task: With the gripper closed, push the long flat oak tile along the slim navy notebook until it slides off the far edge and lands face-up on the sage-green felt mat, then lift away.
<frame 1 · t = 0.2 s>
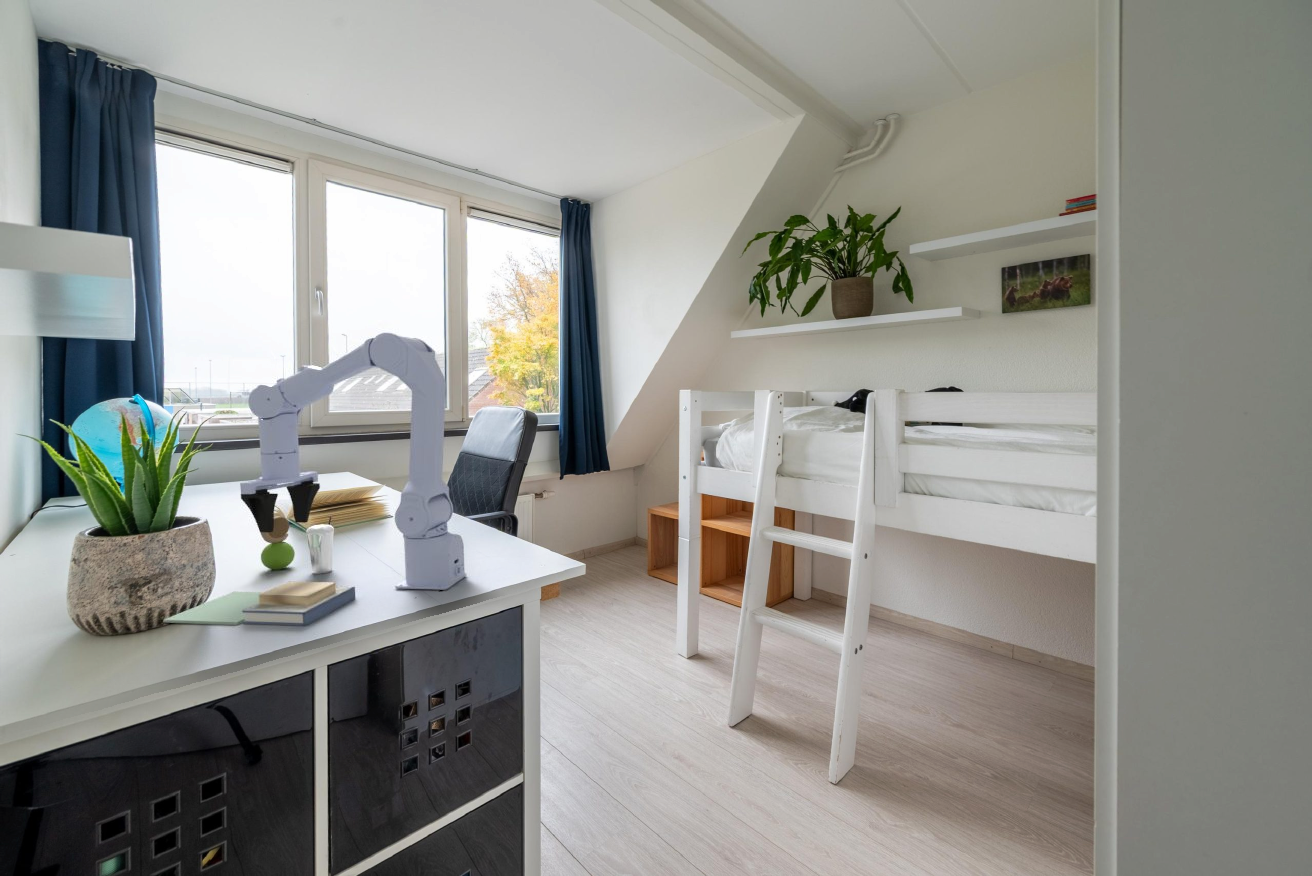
hand: (284, 526, 99), 10 cm above the table, fingers open, 7 cm apart
snail figurine: (276, 570, 106), on the table
tile: (298, 597, 85), point 2 cm above the table, touching notebook
notebook: (302, 610, 85), on the table
milkshake: (324, 571, 105), on the table
mat: (235, 608, 86), on the table
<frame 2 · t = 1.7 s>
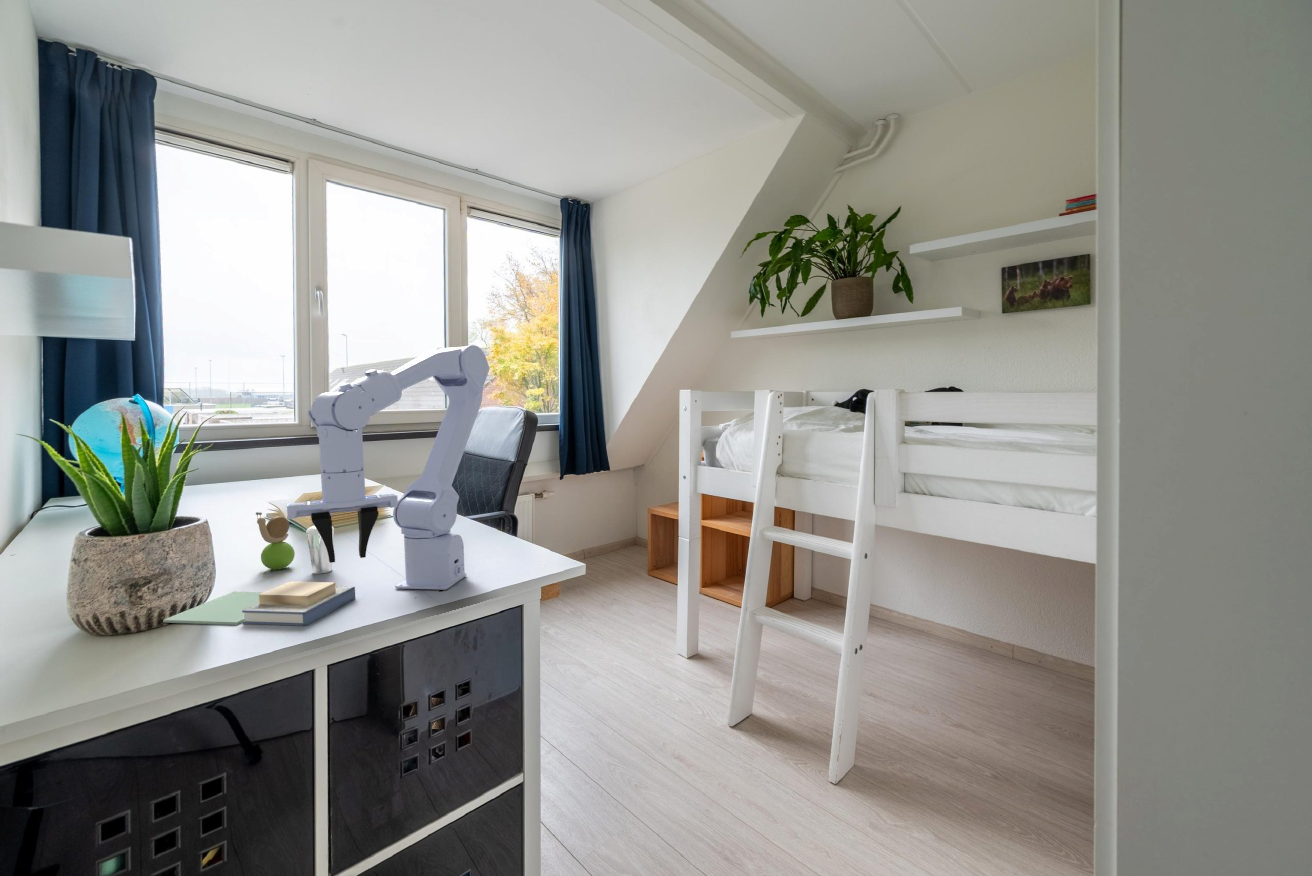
hand: (347, 558, 83), 8 cm above the table, fingers open, 3 cm apart
nothing on the table moved.
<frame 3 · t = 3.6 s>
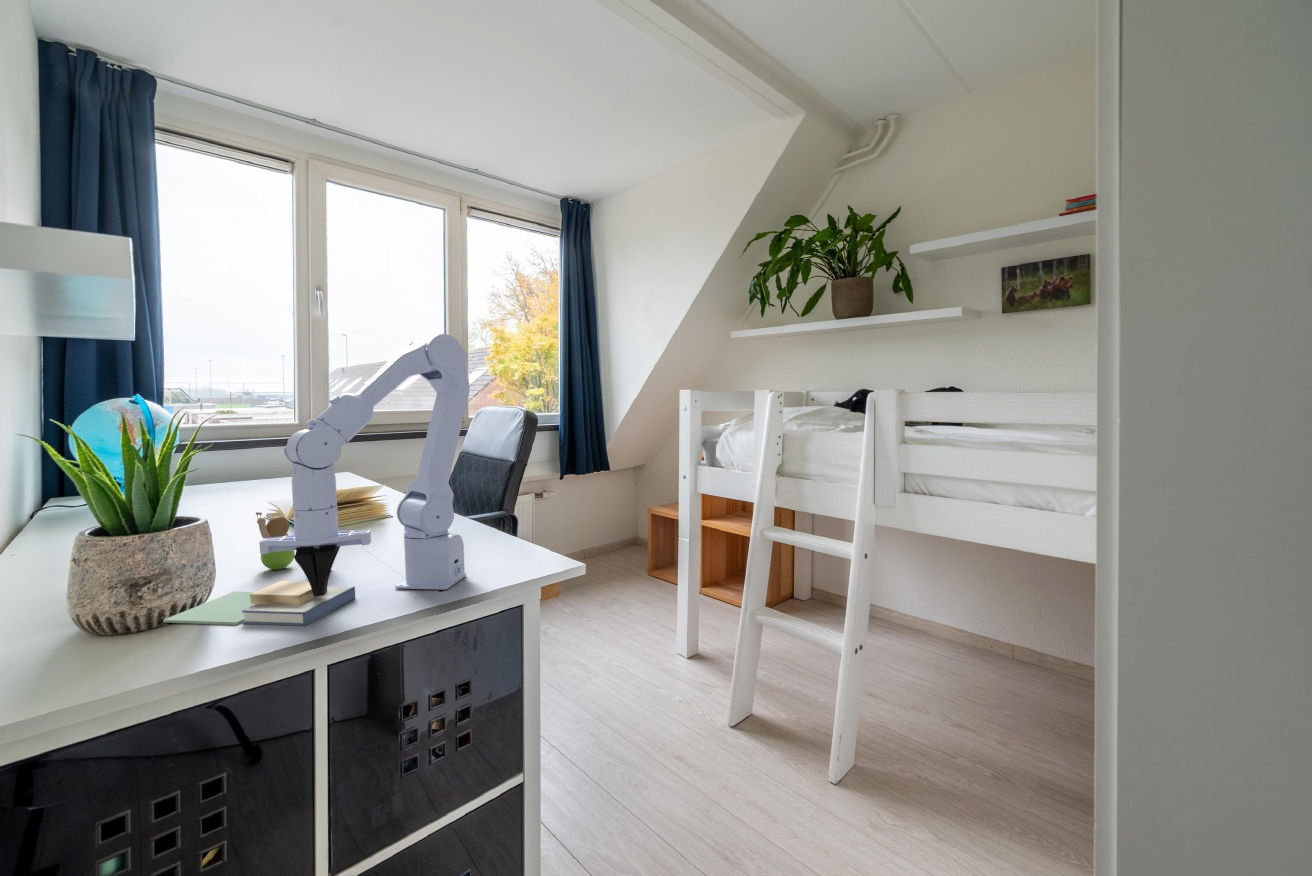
hand: (320, 593, 84), 3 cm above the table, fingers closed
tile: (290, 597, 85), point 2 cm above the table, touching notebook
everything else where it was.
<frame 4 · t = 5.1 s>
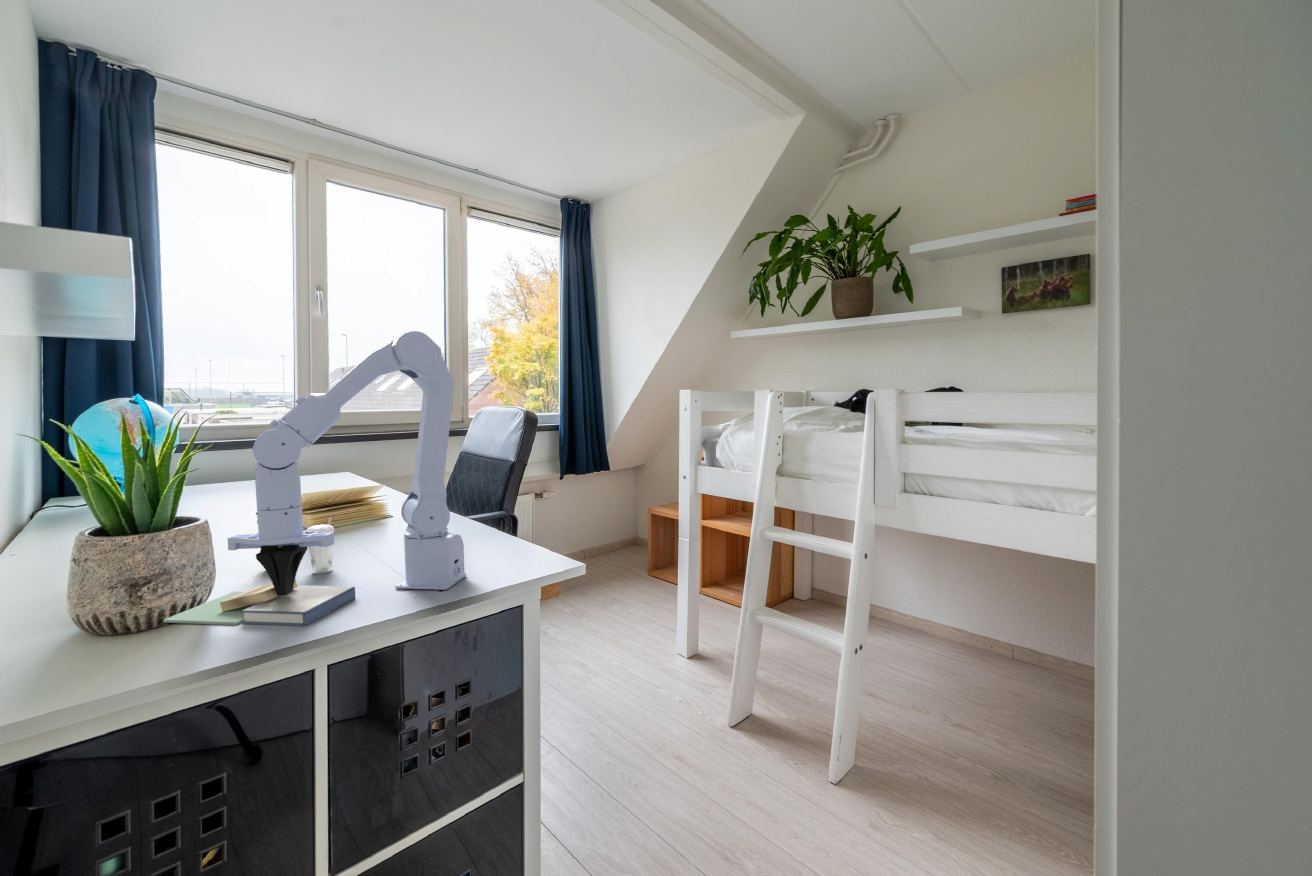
hand: (284, 592, 85), 3 cm above the table, fingers closed
tile: (261, 599, 86), point 1 cm above the table, tilted 14°, touching gripper
everything else where it was.
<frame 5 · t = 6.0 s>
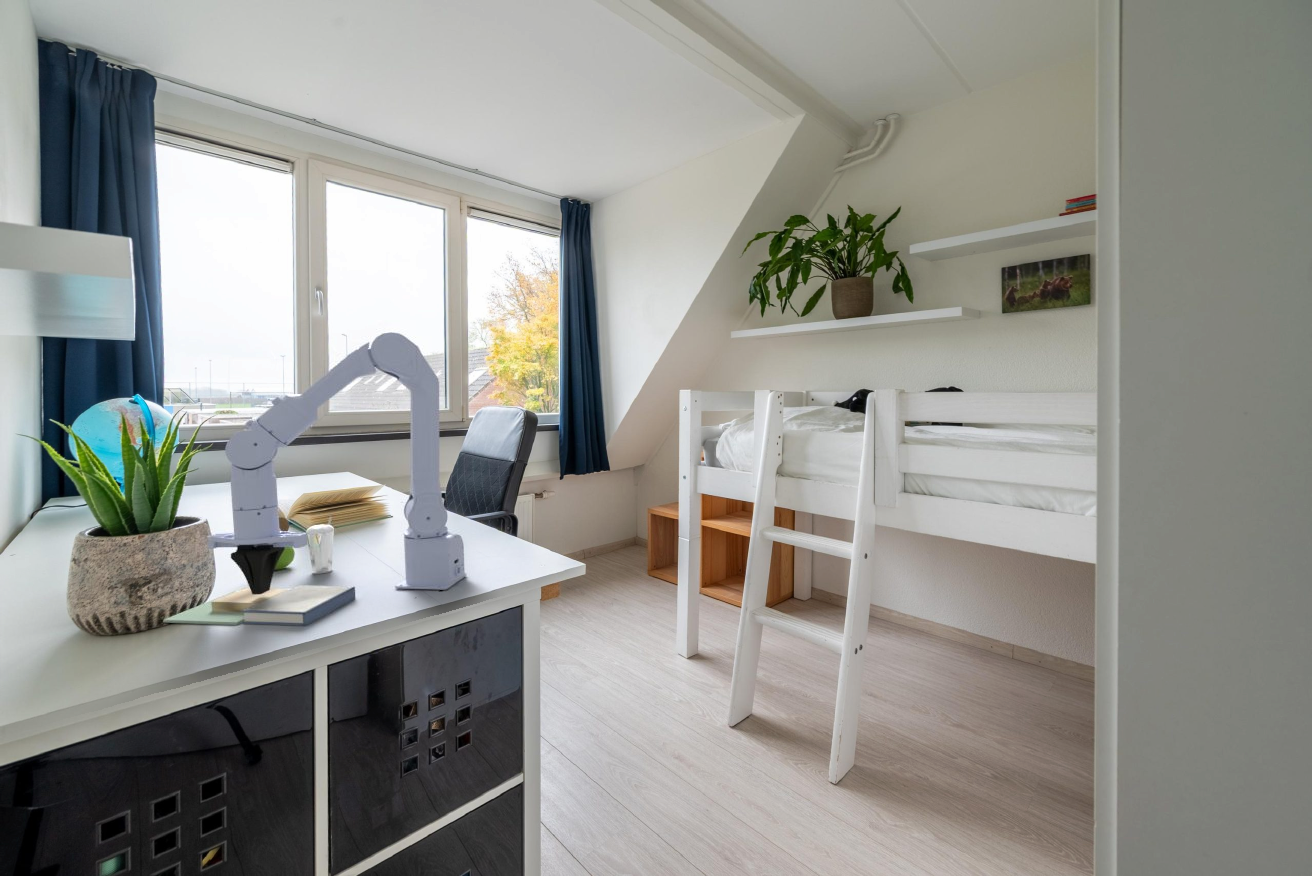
hand: (261, 592, 85), 3 cm above the table, fingers closed
tile: (251, 604, 86), resting on mat
everything else where it was.
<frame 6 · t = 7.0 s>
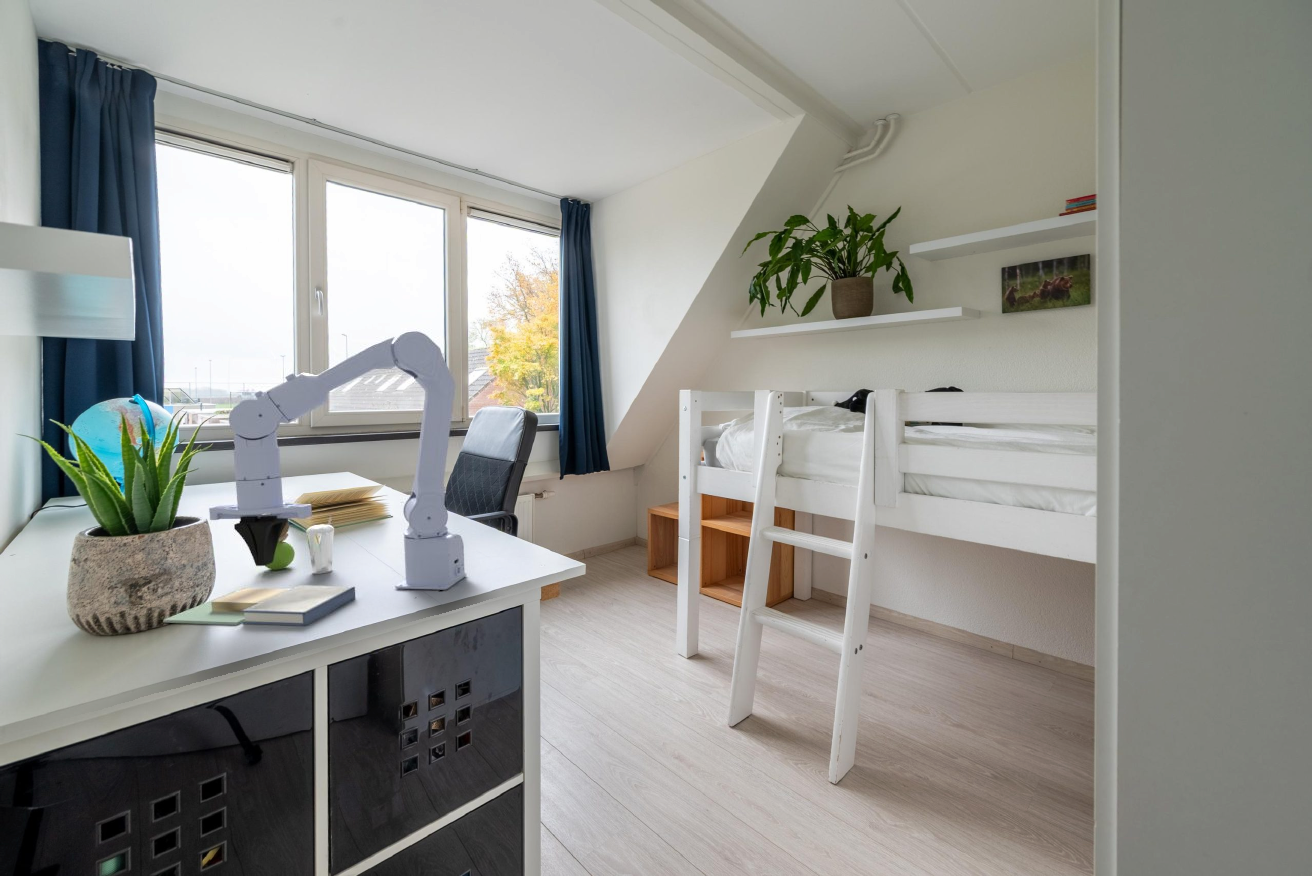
hand: (264, 564, 85), 7 cm above the table, fingers closed
nothing on the table moved.
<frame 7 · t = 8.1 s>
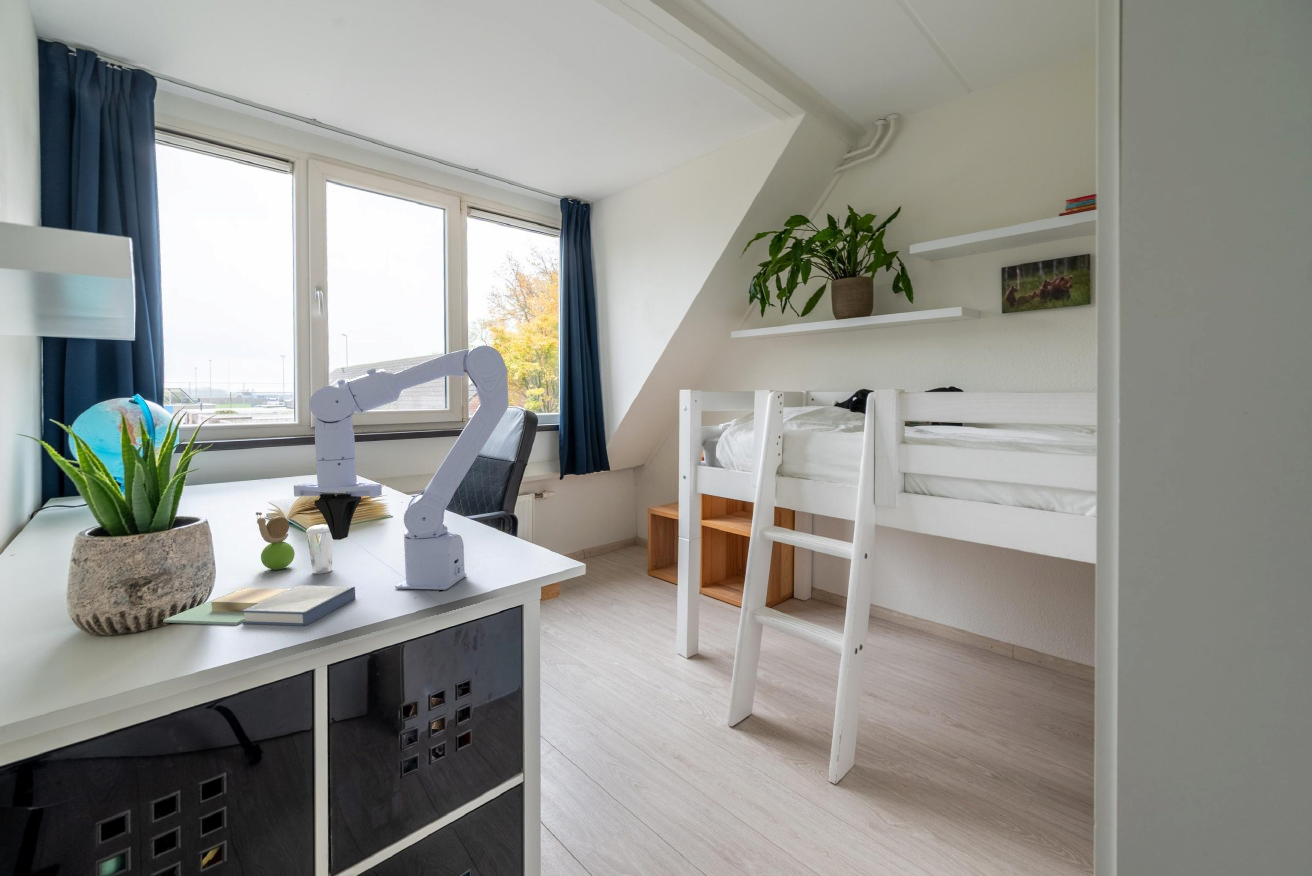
hand: (340, 538, 92), 9 cm above the table, fingers closed
nothing on the table moved.
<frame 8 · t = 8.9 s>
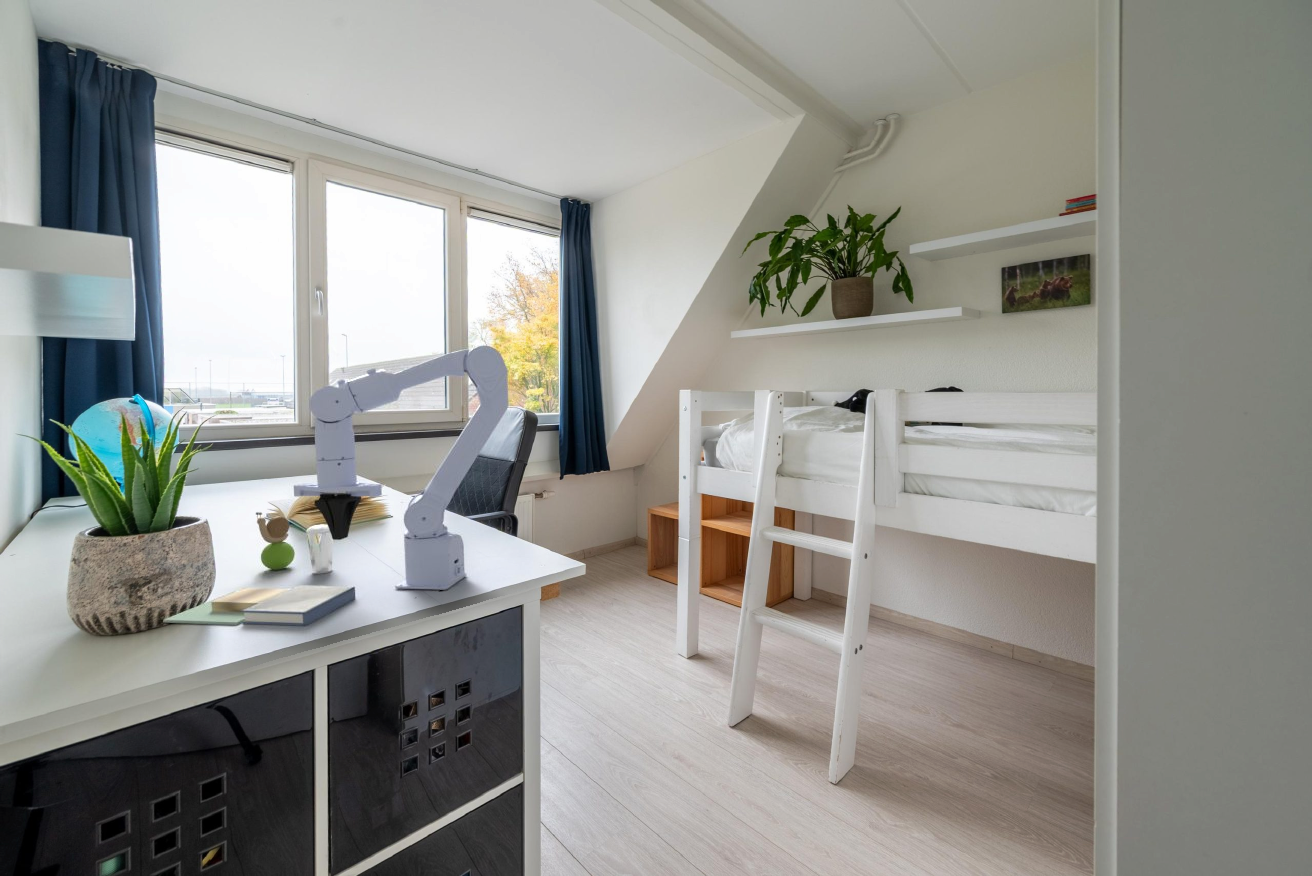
hand: (340, 538, 92), 9 cm above the table, fingers closed
nothing on the table moved.
at the end: tile inside the target area (2.9 cm from its centre), resting on mat; tile touching mat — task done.
